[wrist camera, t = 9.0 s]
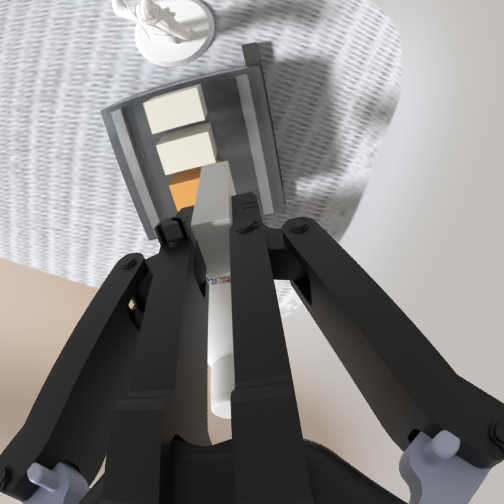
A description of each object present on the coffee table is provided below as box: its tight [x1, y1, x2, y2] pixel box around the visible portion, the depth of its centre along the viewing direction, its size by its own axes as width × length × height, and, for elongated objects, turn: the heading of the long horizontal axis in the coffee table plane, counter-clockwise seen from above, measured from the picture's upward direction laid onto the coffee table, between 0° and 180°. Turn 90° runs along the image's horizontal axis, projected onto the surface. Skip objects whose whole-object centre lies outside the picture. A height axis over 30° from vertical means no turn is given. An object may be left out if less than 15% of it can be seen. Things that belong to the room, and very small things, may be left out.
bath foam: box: [206, 270, 235, 419], centre depth 26 cm, size 7×7×20 cm
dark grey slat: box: [242, 42, 286, 205], centre depth 26 cm, size 16×1×1 cm, turn 11°
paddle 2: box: [156, 122, 217, 175], centre depth 20 cm, size 2×4×3 cm, turn 101°
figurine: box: [111, 0, 215, 67], centre depth 16 cm, size 7×7×12 cm
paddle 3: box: [169, 160, 220, 212], centre depth 22 cm, size 2×4×3 cm, turn 101°
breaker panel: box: [101, 65, 285, 240], centre depth 25 cm, size 12×12×7 cm
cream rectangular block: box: [143, 84, 208, 134], centre depth 18 cm, size 2×4×3 cm, turn 101°
